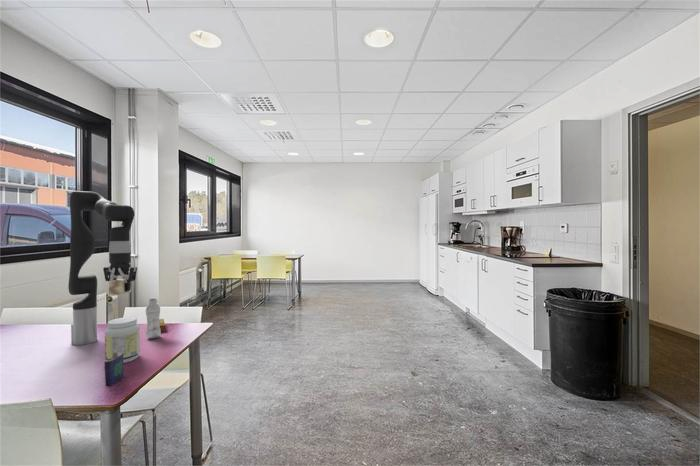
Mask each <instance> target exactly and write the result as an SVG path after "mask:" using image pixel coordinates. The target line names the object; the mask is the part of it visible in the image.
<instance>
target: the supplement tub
mask: <svg viewBox="0 0 700 466" xmlns="http://www.w3.org/2000/svg"><path fill="white" fill-rule="evenodd" d="M106 324H107V325H106V327H107V328H106V329H105V331H104V362H105V361H106V360H108V358H109V359H110V358H111V357H112V355H113V354H114V353H112V352H119V353H123V364H126V363H129V362H133V361H134V360H136V359H137V358H138V357H140V354H141V353H140V352H141V351H140V349H141V348H140V347H141V346H140V344H141V343H140V342H141V341H140V339H141V337H140V335H141V334H140V325H139V324H138V319H137V317H133V316H129V317H128V316H126V317H117V318H114V319H110V320H109V321H108V322H107V323H106Z"/></svg>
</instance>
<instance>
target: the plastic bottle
mask: <svg viewBox="0 0 700 466" xmlns="http://www.w3.org/2000/svg"><path fill="white" fill-rule="evenodd" d="M145 314H146V315H145V316H146V330H145V337H146V338H147V339H150V340H151V339H158V338H159V337H160V336H161V333H162V332H161V329H160V324H159V319H160V314H161V306H160V305H159V304H158V299H157V298H149V299H148V305H147V307H146V308H145Z"/></svg>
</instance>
